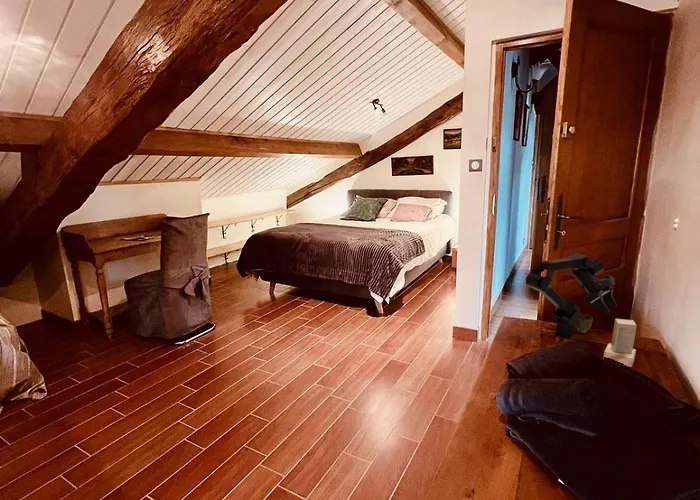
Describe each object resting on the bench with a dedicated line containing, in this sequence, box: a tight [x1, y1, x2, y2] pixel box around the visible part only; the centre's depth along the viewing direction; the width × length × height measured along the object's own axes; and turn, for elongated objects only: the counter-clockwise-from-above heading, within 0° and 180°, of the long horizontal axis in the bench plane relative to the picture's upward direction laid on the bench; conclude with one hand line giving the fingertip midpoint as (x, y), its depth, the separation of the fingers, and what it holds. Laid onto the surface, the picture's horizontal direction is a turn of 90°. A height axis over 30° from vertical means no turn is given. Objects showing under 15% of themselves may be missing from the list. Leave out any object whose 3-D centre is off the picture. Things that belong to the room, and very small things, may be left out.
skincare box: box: [610, 318, 637, 353], centre depth 150 cm, size 6×4×12 cm
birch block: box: [603, 342, 637, 368], centre depth 152 cm, size 9×9×4 cm
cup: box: [574, 312, 594, 334], centre depth 176 cm, size 8×7×8 cm
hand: (612, 310), depth 165 cm, fingers open, 9 cm apart
